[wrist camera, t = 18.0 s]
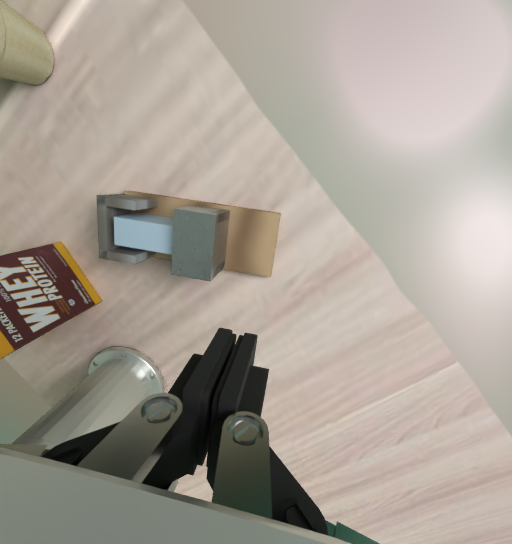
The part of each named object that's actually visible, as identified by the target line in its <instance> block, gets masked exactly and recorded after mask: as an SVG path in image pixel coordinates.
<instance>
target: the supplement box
mask: <svg viewBox="0 0 512 544" xmlns="http://www.w3.org/2000/svg"><path fill="white" fill-rule="evenodd" d="M101 301H102V300H101V298H100V297H99V295H98V294H97V293H96V291H95V290H94V288H93V287H92V285H91V284H90V282H89V281H88V279H87V278H86V276H85V275H84V274H83V272H82V271H81V269H80V268H79V266H78V265H77V263H76V262H75V261H74V259H73V258H72V256H71V255H70V253H69V252H68V251H67V249H66V248H65V246H64V245H63V243H62V242H59V243H54V244H50V245H45V246H41V247H37V248H32V249H28V250H23V251H19V252H15V253H11V254H6V255H2V256H0V359H1V358H3V357H5V356H7V355H9V354H10V353H12V352H14V351H15V350H17V349H19V348H21V347H22V346H24V345H26V344H28V343H29V342H31V341H33V340H35V339H36V338H38V337H40V336H41V335H43V334H45V333H47V332H49V331H50V330H52V329H54V328H55V327H57V326H59V325H61V324H62V323H64V322H66V321H68V320H70V319H71V318H73V317H75V316H77V315H79V314H80V313H82V312H84V311H86V310H88V309H89V308H91V307H93V306H95V305H96V304H98V303H100V302H101Z"/></svg>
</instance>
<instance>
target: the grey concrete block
mask: <svg viewBox="0 0 512 544" xmlns="http://www.w3.org/2000/svg"><path fill="white" fill-rule="evenodd" d="M229 216H230V210H225V209H218V208H211V207H205V206H198V205H191V206H185V207H180V208H174V219H173V245H172V270H171V274H172V275H178V276H183V277H189V278H194V279H200V280H206V281H211V280H212V279H213V278H214V277H215V276H216V275H217V274H218V273H219V272H220V271H221V270H222V269H223V268H224V266H225V256H226V246H227V236H228V226H229Z"/></svg>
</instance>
